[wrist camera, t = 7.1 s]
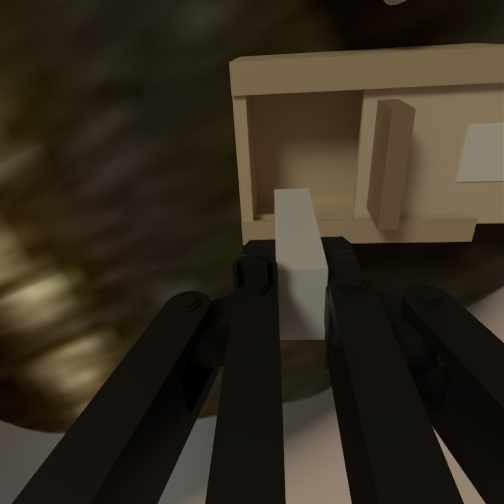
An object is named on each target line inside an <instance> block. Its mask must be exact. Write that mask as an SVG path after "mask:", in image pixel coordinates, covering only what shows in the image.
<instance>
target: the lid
mask: <svg viewBox="0 0 504 504" xmlns="http://www.w3.org/2000/svg"><path fill="white" fill-rule="evenodd" d="M461 216H476V217H477V218H478V219H477V223H504V82H502V83H482V84H462V85H442V86H422V87H402V88H382V89H363V100H362V112H361V123H360V135H359V147H358V159H357V171H356V182H355V194H354V206H353V218H352V219H361V218H372V220H373V222H374V224H375V226H376V228H377V230H398V224H399V218H411V217H461ZM477 223H476V224H477Z"/></svg>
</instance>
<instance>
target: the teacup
mask: <svg viewBox="0 0 504 504" xmlns="http://www.w3.org/2000/svg"><path fill="white" fill-rule="evenodd" d="M404 1H406V0H384V2H385V3H386V4H388V5H397V4H400V3H402V2H404Z"/></svg>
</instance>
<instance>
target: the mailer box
mask: <svg viewBox="0 0 504 504" xmlns="http://www.w3.org/2000/svg"><path fill="white" fill-rule="evenodd" d="M229 65H230V78H231V91H232V96H233V109H234V123H235V136H236V149H237V162H238V176H239V189H240V202H241V215H242V235H243V245H245V244H246V243H247V242H248V241H249V240H267V239H275V200H274V190H275V189H302V188H308V189H309V193H310V197H311V201H312V205H313V209H314V213H315V217H316V221H317V225H318V229H319V233H320V237H338V236H343V237H344V238H345V239H347V240H348V241H349V242H350V243H409V242H472V238H473V234H474V230H475V227H476V223H477V219H478V218H477V217H476V216H461V217H411V218H399V224H398V230H377V228H376V226H375V224H374V222H373V220H372V218H361V219H352V218H353V206H354V194H355V182H356V171H357V159H358V147H359V135H360V123H361V112H362V100H363V89H382V88H402V87H422V86H442V85H462V84H482V83H502V82H504V45H503V44H481V43H467V44H450V45H433V46H416V47H399V48H382V49H365V50H348V51H331V52H314V53H297V54H280V55H263V56H246V57H239V58H237V59H235V60H233V61H231V62H229Z"/></svg>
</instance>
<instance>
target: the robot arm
mask: <svg viewBox="0 0 504 504" xmlns="http://www.w3.org/2000/svg"><path fill="white" fill-rule="evenodd" d="M274 200H275V239H267V240H249V241H248V242H247V243H246V244H245V246H244V247H243V254H242V257H240V258H238V259H237V260H236V261H235V262H234V264H233V276H234V287H235V290H234V292H233V293H231V294H230V295H228V296H226V297H223V298H220V299H216V300H212V301H210V299H209V297H208V296H207V295H206V294H204V293H202V292H198V291H187V292H183V293H179V294H177V295H175V296H173V297H172V298H171V299H170V300H168V301H167V303H166V304H165V305H164V307H163V308H162V309H161V310H160V312H159V313H158V314H157V316H156V317H155V318H154V320H153V321H152V322H151V323H150V325H149V326H148V327H147V329H146V330H145V331H144V333H143V334H142V335H141V336H140V338H139V339H138V340H137V342H136V343H135V344H134V346H133V347H132V348H131V349H130V351H129V352H128V353H127V355H126V356H125V357H124V359H123V360H122V361H121V362H120V364H119V365H118V366H117V368H116V369H115V370H114V372H113V373H112V374H111V375H110V377H109V378H108V379H107V381H106V382H105V383H104V385H103V386H102V387H101V388H100V390H99V391H98V392H97V394H96V395H95V396H94V398H93V399H92V400H91V401H90V403H89V404H88V405H87V407H86V408H85V409H84V411H83V412H82V413H81V414H80V416H79V417H78V418H77V420H76V421H75V422H74V424H73V425H72V426H71V427H70V429H69V430H68V431H67V433H66V434H65V435H64V437H63V438H62V439H61V440H60V442H59V443H58V444H57V446H56V447H55V448H54V449H53V451H52V452H51V454H50V455H49V456H48V457H47V459H46V460H45V461H44V463H43V464H42V465H41V466H40V468H39V469H38V471H37V472H36V473H35V474H34V475H33V477H32V478H31V479H30V481H29V482H28V483H27V485H26V486H25V487H24V489H23V490H22V491H21V493H20V494H19V495H18V496H17V498H16V499H15V500H14V502H13V503H12V504H158V502H159V499H160V497H161V495H162V493H163V491H164V489H165V486H166V484H167V482H168V480H169V478H170V476H171V473H172V471H173V469H174V467H175V465H176V463H177V460H178V458H179V456H180V454H181V452H182V450H183V447H184V445H185V443H186V441H187V439H188V437H189V435H190V432H191V430H192V428H193V426H194V424H195V422H196V420H197V417H198V415H199V413H200V411H201V409H202V407H203V404H204V402H205V400H206V398H207V396H208V394H209V391H210V389H211V387H212V385H213V383H214V381H215V378H216V376H217V374H218V371H219V367H220V366H224V370H223V378H222V385H221V392H220V400H219V407H218V414H217V422H216V429H215V436H214V443H213V451H212V458H211V466H210V473H209V480H208V488H207V495H206V502H205V504H286V501H285V472H284V443H283V413H282V384H281V355H280V340H322V339H324V337H325V333H326V338H327V340H326V357H325V369H328V368H329V373H330V378H331V384H332V390H333V396H334V402H335V407H336V414H337V419H338V425H339V431H340V437H341V443H342V449H343V455H344V460H345V466H346V472H347V478H348V484H349V490H350V496H351V501H352V504H464V503H463V500H462V498H461V495H460V493H459V491H458V488H457V486H456V483H455V481H454V478H453V476H452V473H451V471H450V469H449V466H448V464H447V461H446V459H445V456H444V454H443V451H442V449H441V447H440V444H439V442H438V439H437V437H436V434H435V432H434V429H435V430H436V432H437V434H438V435H439V436H440V438H441V439H442V441H443V442H444V444H445V445H446V447H447V448H448V450H449V451H450V452H451V454H452V455H453V457H454V458H455V460H456V461H457V463H458V464H459V465H460V467H461V468H462V470H463V471H464V473H465V474H466V476H467V477H468V479H469V480H470V481H471V483H472V484H473V486H474V487H475V489H476V490H477V491H478V493H479V494H480V496H481V497H482V499H483V500H484V502H485V503H486V504H504V343H503V342H502V341H501V340H500V339H499V338H497V337H496V336H495V335H494V334H493V333H492V332H491V331H490V330H489V329H488V328H486V327H485V326H484V325H483V324H482V323H481V322H480V321H479V320H477V319H476V318H475V317H474V316H473V315H472V314H471V313H470V312H468V311H467V310H466V309H465V308H464V307H463V306H462V305H461V304H460V303H459V302H457V301H456V300H455V299H454V298H453V297H452V296H451V295H449V294H448V293H446V292H445V291H443V290H441V289H438V288H436V287H432V286H426V285H418V286H413V287H410V288H408V289H407V290H406V291H405V292H404V295H403V297H401V296H395V295H390V294H386V293H382V292H379V291H377V290H376V288H375V285H374V284H373V283H372V282H371V280H369V279H367V278H366V277H364V276H363V274H362V271H361V268H360V266H359V263H358V261H357V258H356V255H355V253H354V250H353V248H352V245H351V243H350V242H349V241H348V240H347V239H345V238H344V237H343V236H338V237H320V233H319V229H318V225H317V221H316V217H315V213H314V209H313V205H312V201H311V197H310V193H309V189H308V188H302V189H275V190H274ZM432 426H433V427H432ZM433 428H434V429H433Z"/></svg>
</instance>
